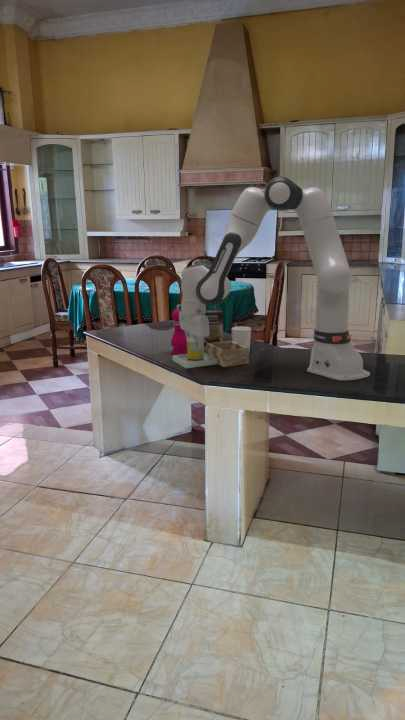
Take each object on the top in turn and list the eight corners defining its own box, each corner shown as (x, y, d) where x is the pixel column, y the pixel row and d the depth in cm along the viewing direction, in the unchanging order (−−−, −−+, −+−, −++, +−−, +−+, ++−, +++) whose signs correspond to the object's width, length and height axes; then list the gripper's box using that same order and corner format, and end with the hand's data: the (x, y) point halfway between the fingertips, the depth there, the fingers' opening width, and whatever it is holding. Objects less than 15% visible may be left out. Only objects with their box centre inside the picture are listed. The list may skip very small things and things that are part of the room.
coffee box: (201, 350, 223) (200, 312, 219) (201, 347, 229) (200, 309, 225) (223, 350, 223) (223, 312, 219) (222, 346, 229) (222, 309, 225)
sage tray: (217, 364, 202) (217, 359, 201) (185, 368, 197) (185, 363, 196) (203, 356, 213) (203, 351, 213) (172, 360, 208) (172, 355, 207)
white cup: (249, 354, 215) (249, 330, 213) (230, 354, 217) (230, 329, 214) (251, 350, 222) (252, 326, 220) (233, 349, 224) (233, 326, 222)
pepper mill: (188, 355, 216) (187, 306, 211) (170, 355, 216) (169, 306, 211) (189, 351, 223) (188, 303, 218) (171, 351, 223) (170, 303, 218)
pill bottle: (193, 357, 208) (193, 328, 206) (207, 359, 205) (207, 330, 202) (183, 361, 203) (183, 331, 200) (197, 363, 200) (197, 333, 197)
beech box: (248, 363, 202) (249, 348, 200) (223, 367, 198) (223, 351, 196) (230, 355, 215) (230, 340, 213) (206, 358, 210) (206, 343, 209)
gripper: (213, 311, 192) (213, 349, 195) (190, 304, 210) (191, 338, 213) (197, 313, 189) (198, 351, 193) (175, 305, 207) (176, 340, 211)
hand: (194, 344), depth 203 cm, fingers open, 8 cm apart
